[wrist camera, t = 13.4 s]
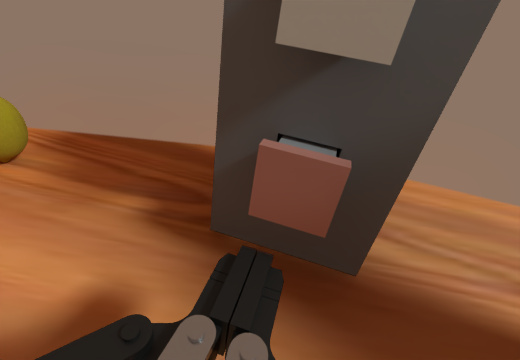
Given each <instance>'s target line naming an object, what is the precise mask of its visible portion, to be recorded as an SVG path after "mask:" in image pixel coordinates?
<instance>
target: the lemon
mask: <svg viewBox="0 0 520 360" xmlns="http://www.w3.org/2000/svg"><path fill="white" fill-rule="evenodd" d="M27 142H28V130H27V126H26V124H25V121H24V119H23V117H22V116H21V114H20V113H19V111H18V110H17V109H16V108H15V107H14V106H13V105H12V104H11V103H10V102H9V101H7V100H5V99H4V98H1V97H0V161H1V162H9V161H10V160H11V159H12V157H14V156H16V155H18V154H19V153H21V152H22V151H23V150H24V148H25V147H26V145H27Z"/></svg>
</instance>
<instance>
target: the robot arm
mask: <svg viewBox="0 0 520 360" xmlns="http://www.w3.org/2000/svg"><path fill="white" fill-rule="evenodd" d="M272 260H273V255H272V254H269V253H265V252H262V251H259V250H258V252H257V250H256V249H253V248H250V247H247V246H243V245H242V247H241V248H240V251H239V253H238V255H237V256H236V255H232V254H229V253H227V254H226V255H225V256H224V257H222V258H221V259H220V260H219V261H218V263H217V265H216V267H215V269H214V271H213V273H212V275H211V276H210V279H209V280H208V282H207V284H206V286H205V288H204V289H203V291H202V293H201V295H200V297H199V299H198V301H197V302H196V304H195V306H194V308H193V310H192V311H191V313H190V314H189V315H188V316H187V317H185V318H184V319H182V320H180V321H177V322H174V323H151V321H150V320H149V319H148V318H147V317H146V316H143V315H139V314H135V315H129V316H127V317H124V318H122V319H120V320H118V321H116V322H114V323H112V324H110V325H107V326H105V327H103V328H101V329H99V330H97V331H95V332H93V333H90V334H88V335H86V336H84V337H82V338H80V339H78V340H76V341H73V342H71V343H69V344H67V345H65V346H63V347H61V348H59V349H56V350H54V351H52V352H50V353H48V354H46V355H44V356H42V357H39V358H37V359H35V360H215V359H216V356H217V354H220V355H222V356H223V355H224V353H225V350H226V353H225V360H275V358H274V357H273V355H272V352H271V349H270V337H271V333H272V328H273V324H274V320H275V316H276V312H277V308H278V303H279V299H280V295H281V291H282V287H283V282H284V280H283V275H282V271H281V270H279V269H276V268H272V267H271V264H272Z"/></svg>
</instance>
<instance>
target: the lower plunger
mask: <svg viewBox="0 0 520 360" xmlns="http://www.w3.org/2000/svg"><path fill="white" fill-rule="evenodd" d="M336 153H337V148H336V147H332V146H328V145H324V144H320V143H316V142H312V141H308V140H304V139H300V138H296V137H292V136H288V135H284V134H283V136H282V138H281V139H280V141H279V142H275V141H271V140H267V139H263V140H262V141H261V143H260V144H259V149H258V155H257V162H256V168H255V174H254V181H253V187H252V194H251V200H250V206H249V213H248V215H251V216H255V217H258V218H261V219H265V220H268V221H271V222H274V223H278V224H281V225H284V226H288V227H291V228H294V229H297V230H301V231H304V232H307V233H311V234H314V235H317V236H320V237H324V238H325V236H326V234H327V231H328V228H329V226H330V223H331V221H332V218H333V215H334V213H335V210H336V207H337V205H338V202H339V200H340V197H341V194H342V192H343V189H344V186H345V184H346V181H347V179H348V176H349V173H350V171H351V161H350V160H346V159H342V158H338V157H336Z"/></svg>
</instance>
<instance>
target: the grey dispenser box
mask: <svg viewBox="0 0 520 360" xmlns="http://www.w3.org/2000/svg"><path fill="white" fill-rule="evenodd" d="M500 1H501V0H416V1H415V3H414V6H413V8H412V11H411V14H410V16H409V19H408V21H407V24H406V27H405V29H404V32H403V35H402V37H401V40H400V42H399V45H398V48H397V50H396V53H395V56H394V58H393V61H392V63H391V65H387V64H381V63H376V62H371V61H366V60H361V59H356V58H350V57H345V56H340V55H335V54H330V53H324V52H319V51H314V50H309V49H304V48H299V47H293V46H288V45H283V44H278V43H275V42H276V36H277V29H278V23H279V17H280V10H281V4H282V0H224V15H223V32H222V48H221V64H220V81H219V97H218V113H217V114H218V115H217V131H216V146H215V162H214V179H213V195H212V211H211V228H210V229H211V230H214V231H217V232H220V233H223V234H226V235H229V236H232V237H236V238H239V239H242V240H245V241H248V242H251V243H254V244H257V245H260V246H264V247H267V248H270V249H273V250H276V251H279V252H282V253H285V254H289V255H292V256H295V257H298V258H301V259H304V260H307V261H310V262H314V263H317V264H320V265H323V266H326V267H329V268H332V269H335V270H338V271H342V272H345V273H348V274H351V275H354V276H356V275H357V273H358V271H359V269H360V267H361V265H362V264H363V262H364V260H365V258H366V256H367V254H368V252H369V250H370V248H371V246H372V244H373V243H374V241H375V239H376V237H377V235H378V233H379V231H380V229H381V227H382V225H383V223H384V222H385V220H386V218H387V216H388V214H389V212H390V210H391V208H392V206H393V204H394V203H395V201H396V199H397V197H398V195H399V193H400V191H401V189H402V187H403V185H404V183H405V182H406V180H407V178H408V176H409V174H410V172H411V170H412V168H413V166H414V164H415V162H416V161H417V159H418V157H419V155H420V153H421V151H422V149H423V147H424V145H425V143H426V141H427V140H428V137H429V136H430V134H431V132H432V130H433V128H434V126H435V124H436V123H437V120H438V119H439V117H440V115H441V113H442V111H443V109H444V107H445V105H446V103H447V102H448V100H449V98H450V96H451V94H452V92H453V90H454V88H455V86H456V84H457V83H458V81H459V78H460V77H461V75H462V73H463V71H464V69H465V67H466V65H467V63H468V62H469V60H470V58H471V56H472V54H473V52H474V50H475V48H476V46H477V44H478V42H479V41H480V39H481V37H482V35H483V33H484V31H485V29H486V27H487V25H488V23H489V22H490V20H491V18H492V16H493V14H494V12H495V10H496V8H497V6H498V4H499V3H500ZM283 134H284V135H288V136H292V137H296V138H300V139H304V140H308V141H312V142H316V143H320V144H324V145H328V146H332V147H336V148H337V153H336V157H338V158H342V159H346V160H350V161H351V171H350V173H349V176H348V179H347V181H346V184H345V186H344V189H343V192H342V194H341V197H340V200H339V202H338V205H337V207H336V210H335V213H334V215H333V218H332V221H331V223H330V226H329V228H328V231H327V234H326V236H325V238H324V237H320V236H317V235H314V234H311V233H307V232H304V231H301V230H297V229H294V228H291V227H288V226H284V225H281V224H278V223H274V222H271V221H268V220H265V219H261V218H258V217H255V216H251V215H248V213H249V206H250V200H251V194H252V187H253V181H254V174H255V168H256V162H257V155H258V149H259V144H260V143H261V141H262V140H263V139H267V140H271V141H275V142H279V141H280V139H281V138H282V136H283Z"/></svg>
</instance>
